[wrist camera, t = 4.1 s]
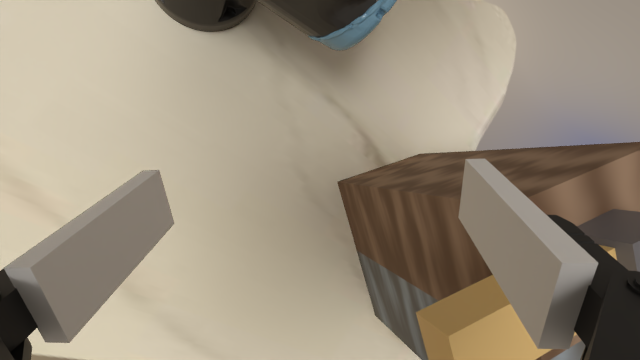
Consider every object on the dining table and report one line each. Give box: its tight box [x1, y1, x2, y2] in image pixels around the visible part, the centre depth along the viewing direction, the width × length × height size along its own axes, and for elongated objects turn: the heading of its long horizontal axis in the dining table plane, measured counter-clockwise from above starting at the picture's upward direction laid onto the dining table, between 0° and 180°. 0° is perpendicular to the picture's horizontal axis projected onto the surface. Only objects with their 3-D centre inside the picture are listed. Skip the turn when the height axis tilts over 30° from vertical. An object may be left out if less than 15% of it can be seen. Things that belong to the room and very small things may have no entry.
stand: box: [338, 142, 640, 360], centre depth 42 cm, size 16×24×33 cm, turn 17°
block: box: [416, 209, 640, 360], centre depth 21 cm, size 18×5×4 cm, turn 107°
